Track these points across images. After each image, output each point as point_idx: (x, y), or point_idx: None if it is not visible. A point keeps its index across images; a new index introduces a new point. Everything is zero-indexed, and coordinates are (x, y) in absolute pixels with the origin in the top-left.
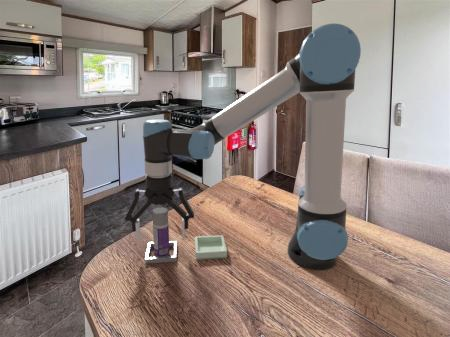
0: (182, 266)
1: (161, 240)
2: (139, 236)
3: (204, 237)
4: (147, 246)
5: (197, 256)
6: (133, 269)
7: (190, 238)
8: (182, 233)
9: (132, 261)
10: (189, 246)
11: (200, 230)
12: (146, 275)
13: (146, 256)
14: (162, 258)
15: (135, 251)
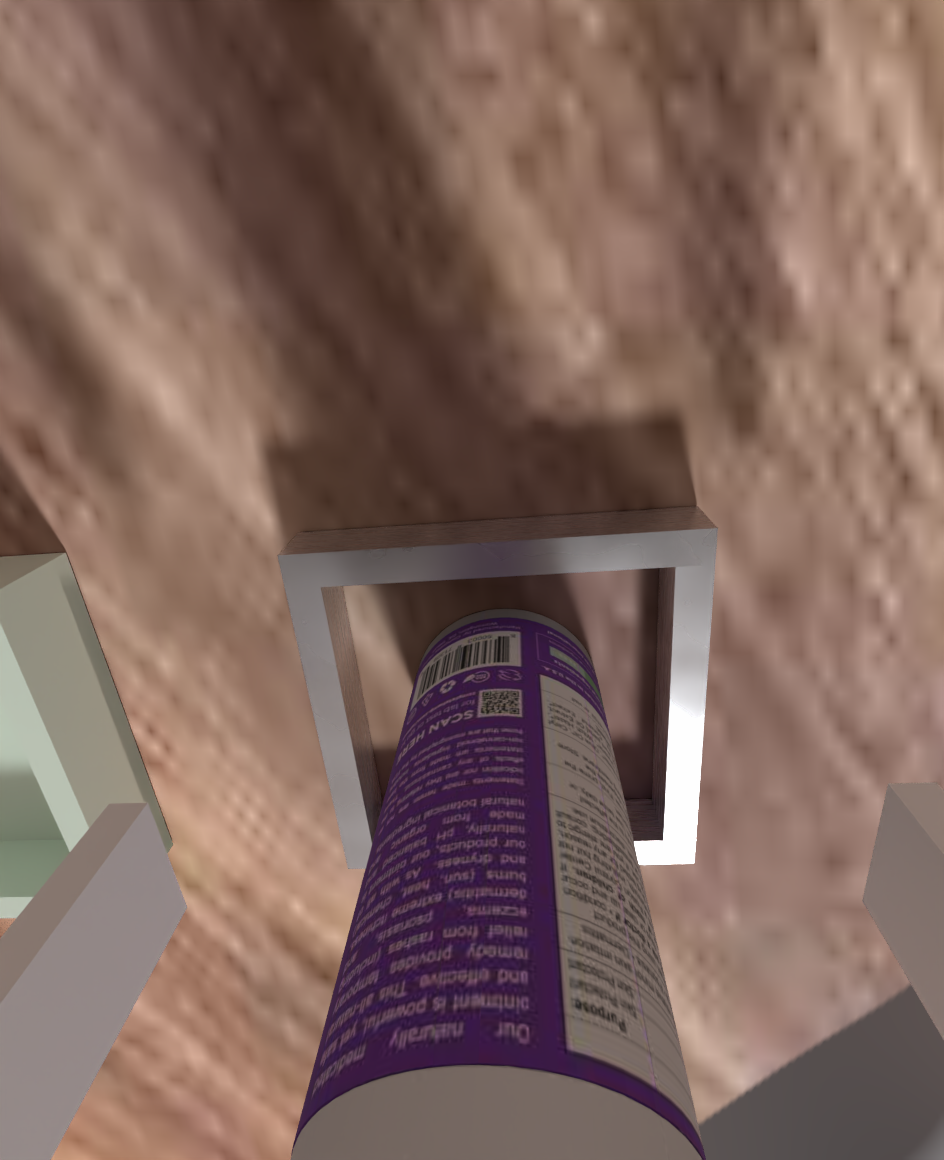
0: (198, 429)
1: (477, 782)
2: (925, 899)
3: (6, 894)
4: (698, 789)
5: (12, 573)
6: (852, 379)
7: (238, 914)
8: (57, 913)
9: (867, 554)
10: (214, 794)
11: (170, 1016)
12: (658, 229)
13: (697, 586)
14: (466, 542)
15: (831, 742)
